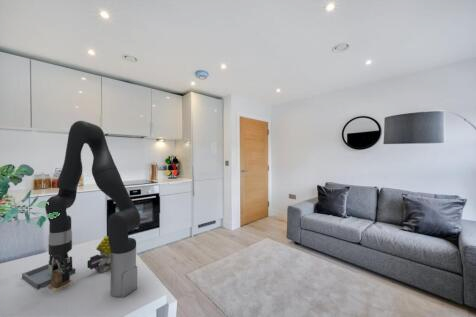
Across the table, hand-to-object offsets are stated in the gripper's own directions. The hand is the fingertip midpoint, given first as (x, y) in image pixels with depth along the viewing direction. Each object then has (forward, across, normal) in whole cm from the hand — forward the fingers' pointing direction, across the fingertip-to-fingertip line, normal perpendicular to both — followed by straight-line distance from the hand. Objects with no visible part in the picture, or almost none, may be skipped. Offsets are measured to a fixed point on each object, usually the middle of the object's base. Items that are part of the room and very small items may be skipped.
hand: (60, 278), depth 85 cm
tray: (+3, +12, 0) cm, 12 cm away
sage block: (+3, +12, -3) cm, 13 cm away
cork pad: (+3, 0, 0) cm, 3 cm away
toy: (+3, -4, -15) cm, 16 cm away
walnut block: (+3, 0, 0) cm, 3 cm away
